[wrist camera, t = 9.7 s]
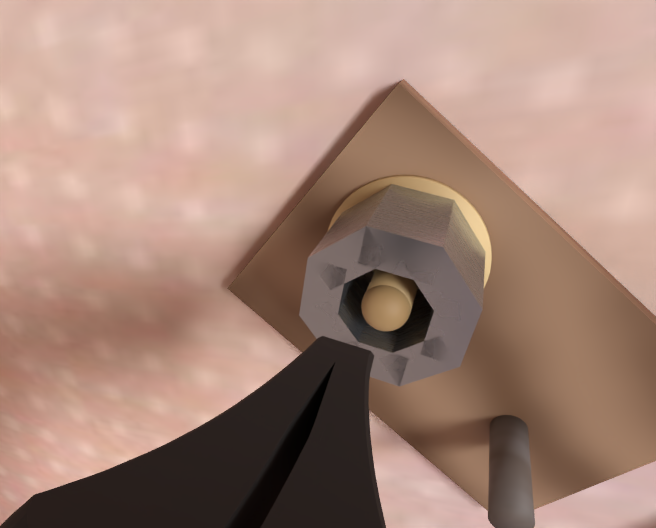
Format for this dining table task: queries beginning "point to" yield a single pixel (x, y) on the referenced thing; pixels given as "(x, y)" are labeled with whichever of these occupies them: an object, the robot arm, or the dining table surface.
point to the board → (485, 324)
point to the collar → (407, 261)
